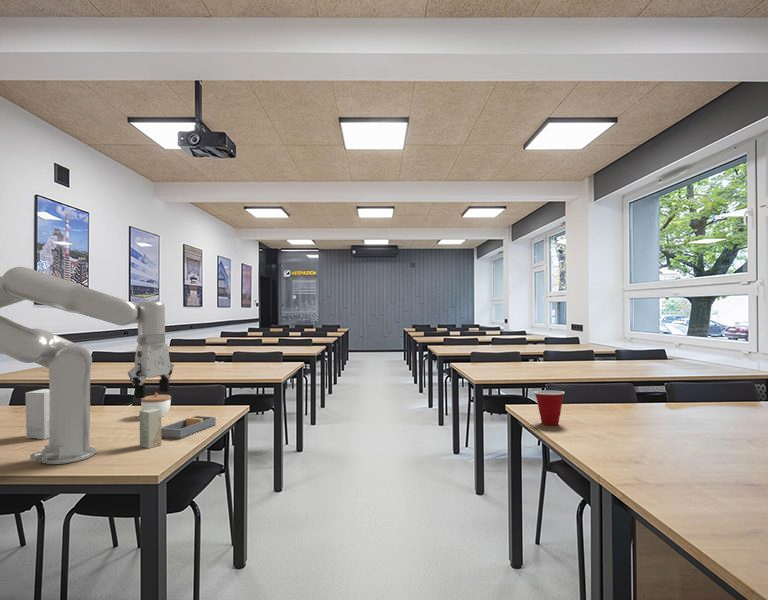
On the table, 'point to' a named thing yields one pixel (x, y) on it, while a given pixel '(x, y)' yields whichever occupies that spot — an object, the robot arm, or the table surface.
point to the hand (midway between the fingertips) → (152, 394)
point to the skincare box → (37, 414)
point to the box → (150, 428)
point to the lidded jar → (156, 403)
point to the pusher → (192, 421)
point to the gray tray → (186, 428)
